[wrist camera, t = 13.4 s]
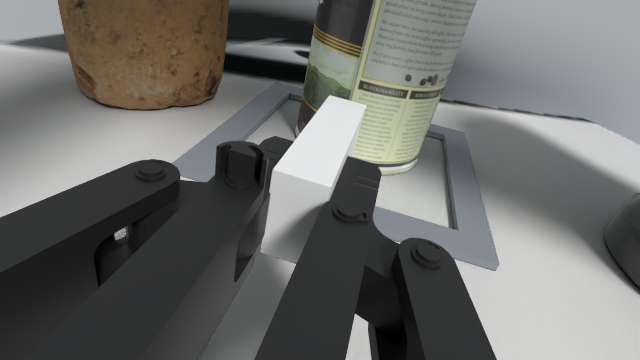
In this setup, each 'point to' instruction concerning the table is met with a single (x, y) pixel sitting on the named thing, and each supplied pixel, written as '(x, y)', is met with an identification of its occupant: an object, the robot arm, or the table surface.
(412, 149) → the coffee can
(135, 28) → the brown rough upright block
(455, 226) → the flat grey frame
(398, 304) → the robot arm
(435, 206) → the table surface
